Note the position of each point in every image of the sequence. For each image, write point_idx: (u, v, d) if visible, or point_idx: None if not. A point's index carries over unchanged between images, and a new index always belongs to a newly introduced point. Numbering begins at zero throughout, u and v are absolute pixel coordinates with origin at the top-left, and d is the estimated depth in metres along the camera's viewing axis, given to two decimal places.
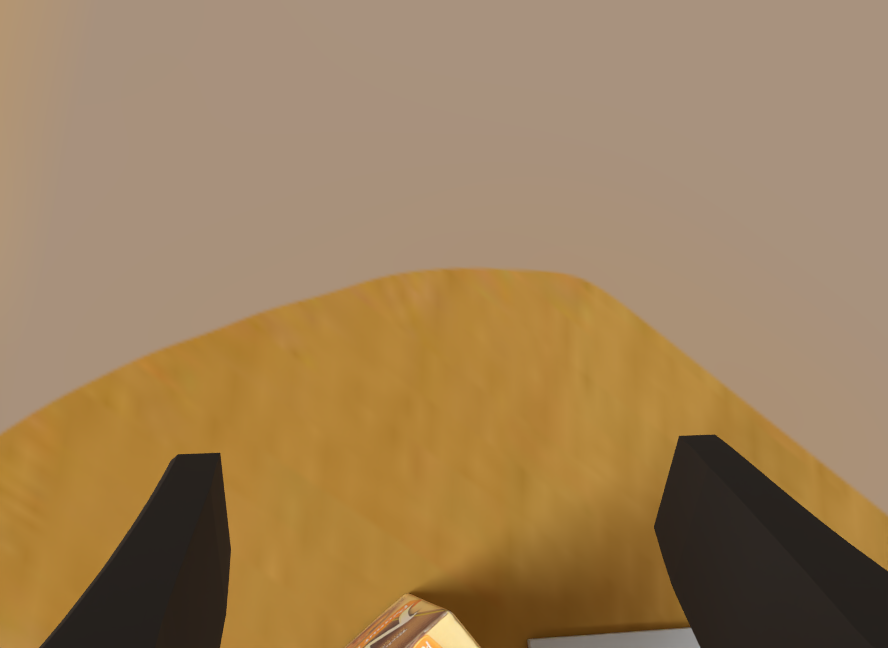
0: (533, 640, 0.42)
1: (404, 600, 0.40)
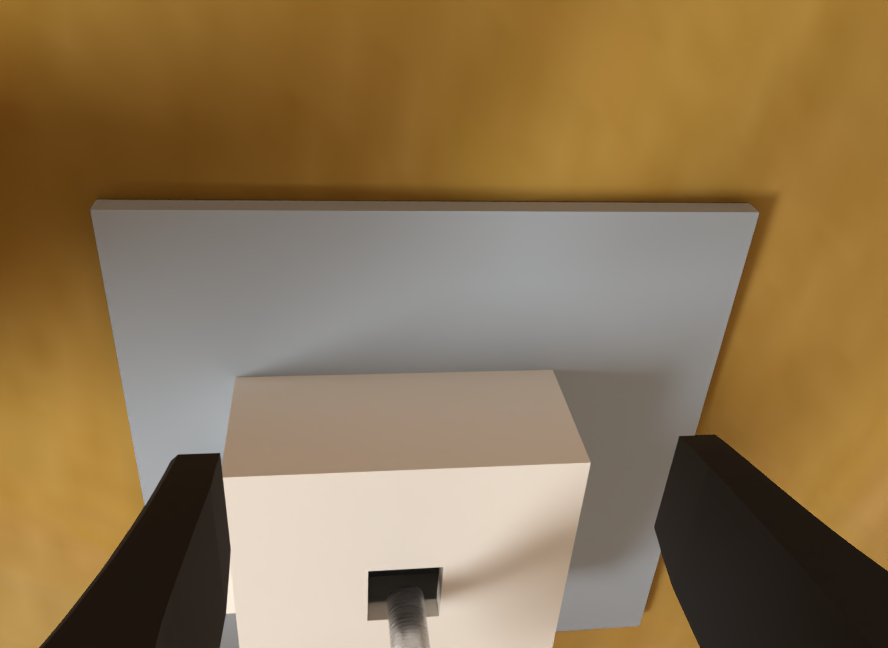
0: (99, 210, 0.19)
1: None
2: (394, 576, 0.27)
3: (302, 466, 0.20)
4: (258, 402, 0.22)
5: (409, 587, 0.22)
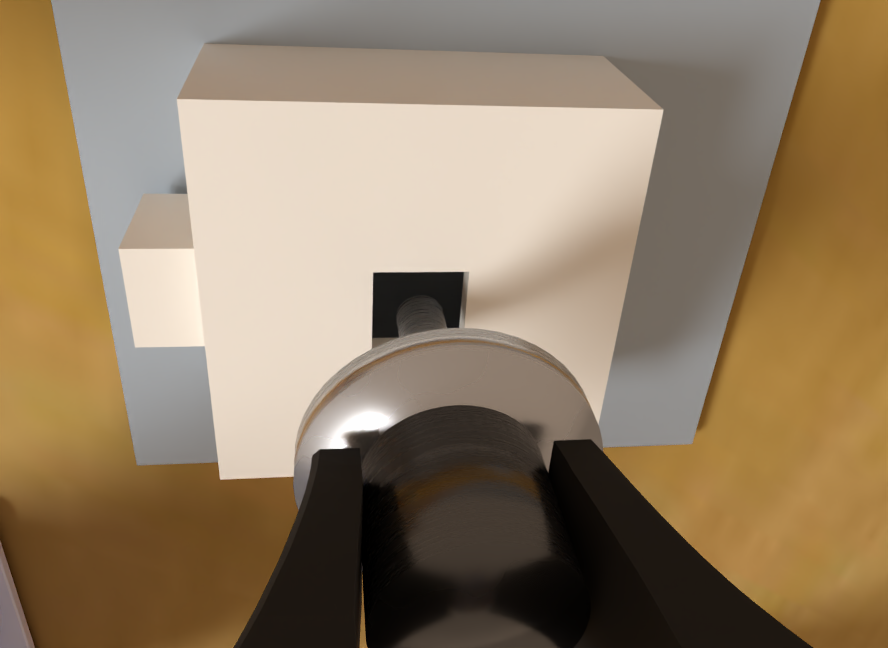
0: None
1: None
2: None
3: (286, 96, 0.15)
4: (232, 58, 0.17)
5: (425, 299, 0.17)
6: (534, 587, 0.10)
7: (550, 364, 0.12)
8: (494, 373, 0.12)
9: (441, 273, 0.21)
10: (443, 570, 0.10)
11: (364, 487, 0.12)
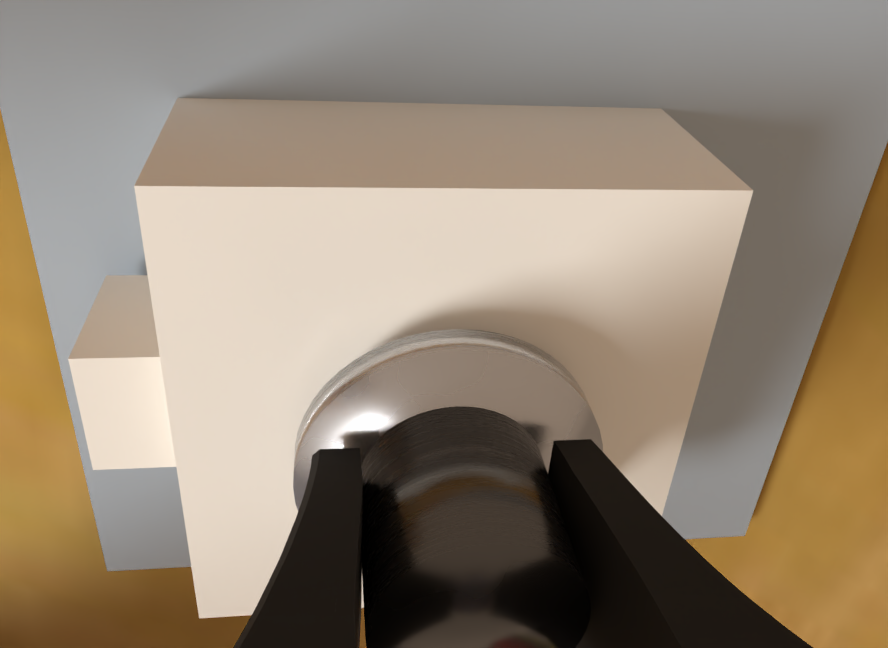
0: None
1: None
2: None
3: (277, 179, 0.12)
4: (210, 119, 0.14)
5: None
6: (535, 588, 0.10)
7: (549, 365, 0.12)
8: (495, 374, 0.12)
9: None
10: (443, 571, 0.10)
11: (364, 488, 0.12)
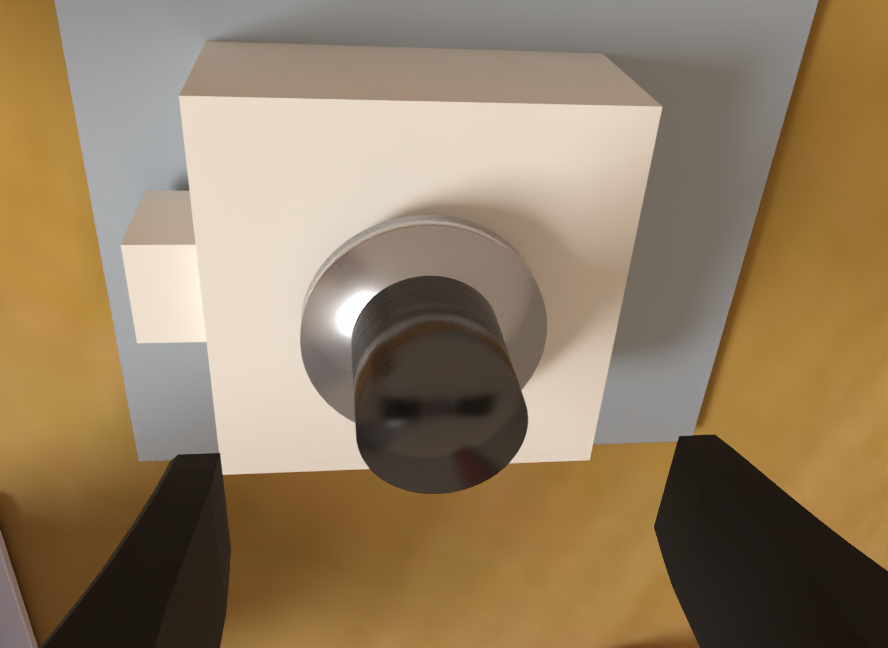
0: None
1: None
2: None
3: (288, 93, 0.15)
4: (233, 55, 0.17)
5: None
6: (484, 396, 0.14)
7: (502, 244, 0.16)
8: (458, 248, 0.15)
9: None
10: (413, 378, 0.13)
11: (356, 338, 0.15)
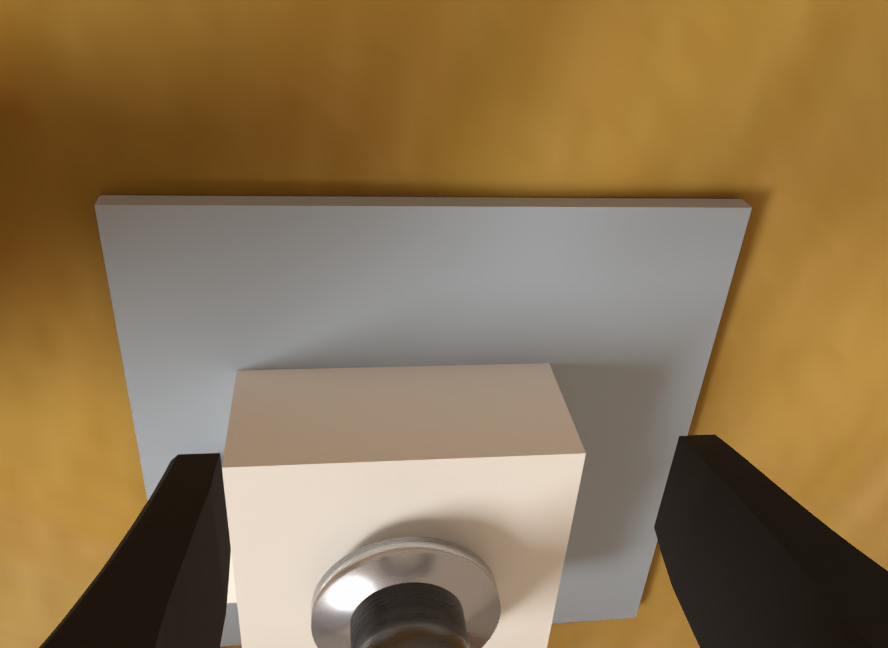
0: (102, 205, 0.20)
1: None
2: None
3: (302, 456, 0.20)
4: (259, 394, 0.22)
5: None
6: None
7: (464, 557, 0.21)
8: (430, 565, 0.20)
9: None
10: None
11: (353, 632, 0.20)
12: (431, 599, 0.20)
